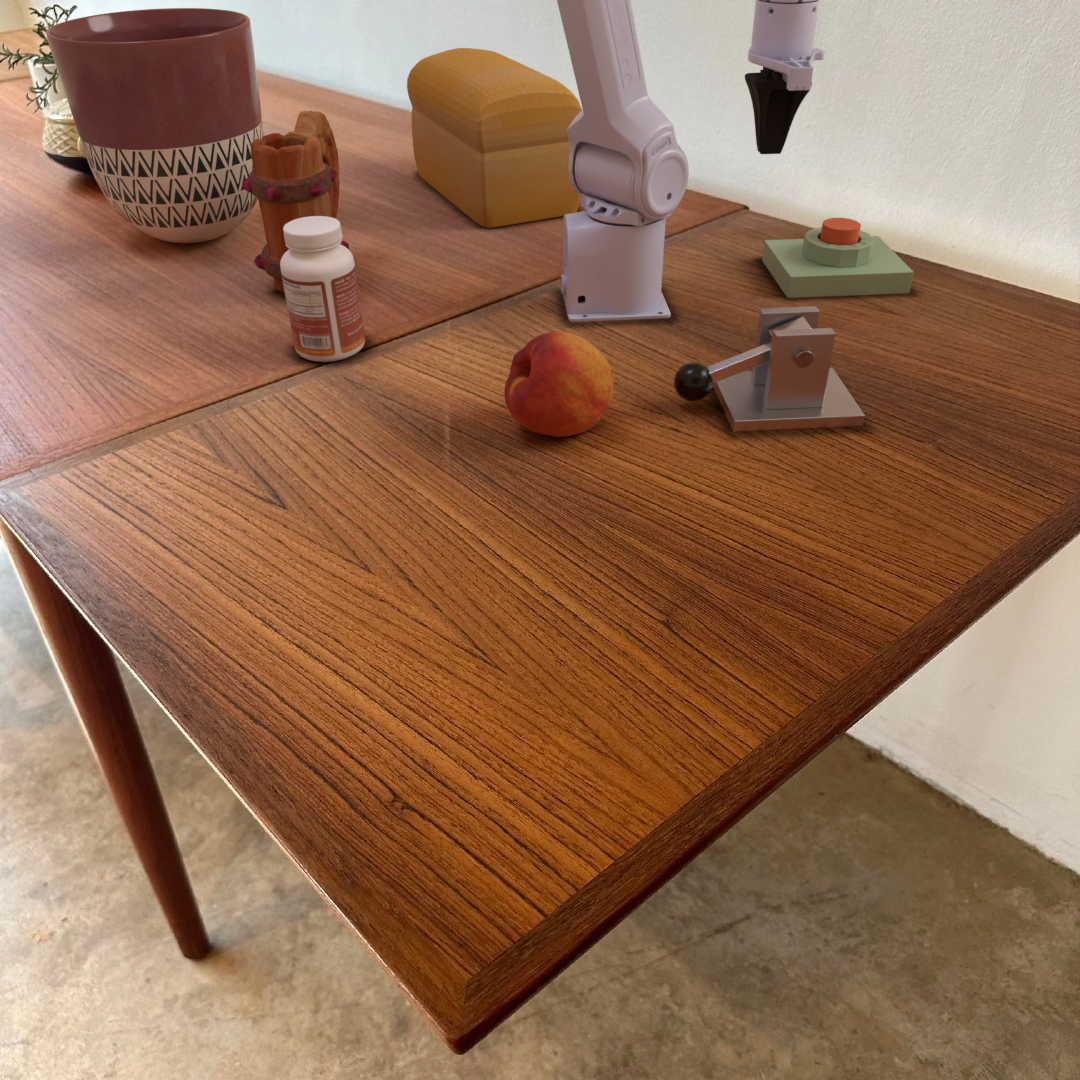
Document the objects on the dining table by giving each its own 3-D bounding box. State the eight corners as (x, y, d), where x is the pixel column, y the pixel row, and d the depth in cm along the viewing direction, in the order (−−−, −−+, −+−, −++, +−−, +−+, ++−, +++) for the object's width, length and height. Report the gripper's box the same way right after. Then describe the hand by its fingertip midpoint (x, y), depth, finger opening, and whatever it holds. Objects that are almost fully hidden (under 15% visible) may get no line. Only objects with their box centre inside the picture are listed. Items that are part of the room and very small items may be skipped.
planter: (65, 254, 109) (0, 35, 96) (181, 200, 123) (137, 4, 111) (214, 277, 103) (165, 48, 90) (317, 217, 117) (287, 12, 104)
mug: (328, 308, 96) (304, 145, 87) (249, 302, 97) (218, 141, 88) (378, 254, 108) (362, 105, 99) (307, 249, 109) (284, 102, 100)
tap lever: (684, 414, 77) (672, 382, 76) (677, 395, 80) (665, 364, 78) (821, 360, 76) (812, 326, 74) (810, 343, 78) (801, 310, 76)
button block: (787, 298, 97) (793, 258, 94) (761, 260, 105) (766, 222, 102) (909, 293, 97) (918, 253, 95) (874, 256, 105) (881, 218, 103)
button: (826, 248, 97) (829, 230, 96) (815, 235, 100) (818, 218, 99) (862, 247, 97) (865, 229, 96) (850, 234, 100) (853, 216, 99)
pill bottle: (353, 328, 92) (337, 207, 86) (375, 355, 88) (359, 229, 81) (287, 342, 90) (265, 219, 84) (305, 370, 86) (284, 242, 79)
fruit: (509, 404, 80) (506, 310, 76) (610, 404, 80) (614, 310, 75) (503, 456, 74) (499, 357, 69) (613, 456, 74) (617, 357, 69)
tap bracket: (732, 435, 76) (743, 346, 72) (711, 385, 82) (719, 301, 78) (862, 429, 76) (880, 340, 72) (830, 380, 83) (845, 296, 79)
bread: (584, 213, 117) (586, 74, 108) (482, 230, 113) (475, 87, 104) (503, 160, 135) (499, 37, 126) (412, 173, 131) (401, 47, 122)
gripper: (855, 10, 86) (830, 172, 95) (807, -14, 98) (789, 131, 106) (775, 12, 86) (756, 174, 94) (736, -12, 98) (723, 133, 106)
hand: (769, 152), depth 100 cm, fingers closed
